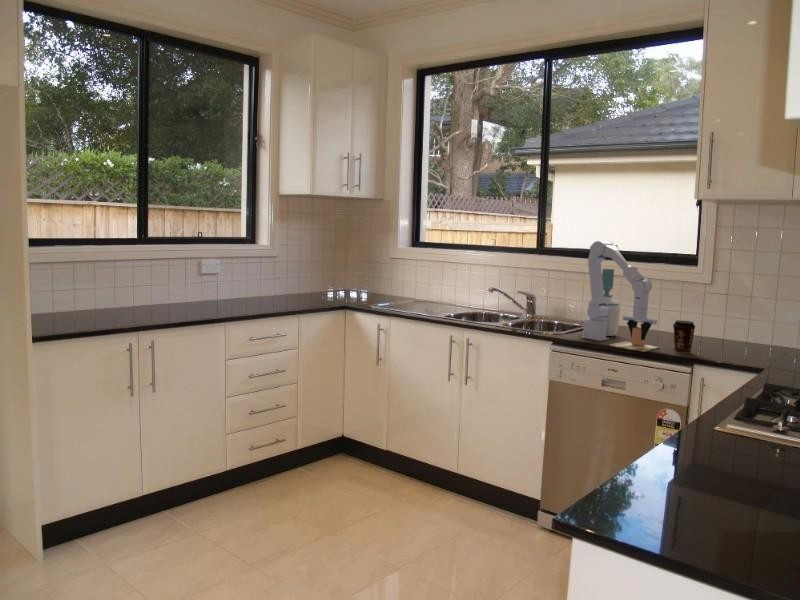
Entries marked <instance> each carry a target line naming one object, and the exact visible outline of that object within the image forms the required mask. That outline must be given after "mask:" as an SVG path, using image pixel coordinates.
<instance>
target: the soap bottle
mask: <svg viewBox="0 0 800 600" xmlns="http://www.w3.org/2000/svg"><path fill="white" fill-rule="evenodd" d="M614 274H615V269H614V268H602V280H603V290H604V298H605V299H606V300H607V301H608V306H609V308H610V315H609V316H608V317H607V323H606V336H612V337H614V336H615V335H617V333H618V331H619V323H620V303H619V302H618V301H617V300H615V299H614V298H613V294H610V292H611V291H612V290H614V276H615V275H614Z"/></svg>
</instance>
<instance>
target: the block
mask: <svg viewBox="0 0 800 600" xmlns="http://www.w3.org/2000/svg"><path fill="white" fill-rule="evenodd" d="M631 342H632V343H631V344H632V345H638V346H642V345H646V344H645V343H646V339H645V340H641V326H637V327H635V328H633V330H632V338H631Z"/></svg>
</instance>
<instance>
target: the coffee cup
mask: <svg viewBox="0 0 800 600" xmlns="http://www.w3.org/2000/svg"><path fill="white" fill-rule="evenodd" d="M672 327H673V343H674V349H673V352H674V353H675V352H676V354H680V353H683V354H682V355H687V354H691V351H692V347H693V340H694V334H695V329H696V325H695V324H694V322H693V321H689V320H683V319H682V320H675V321H674V323H673V326H672Z"/></svg>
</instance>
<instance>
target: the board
mask: <svg viewBox="0 0 800 600" xmlns="http://www.w3.org/2000/svg"><path fill="white" fill-rule="evenodd" d="M631 343H632V341H620V342H616V343H610V344H609V345H610V346H609V347H613V346H614V347H615V348H619V349H626V350H631V351H637V352H643V353H644V352H645V353H646V352H648V351H654V350H658V349H657V348H659V349H660V348H661V347H660V346H655V345H649V344H645V345H642V346H638V345H632V344H631ZM614 347H613V348H614ZM653 349H654V350H653Z"/></svg>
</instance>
